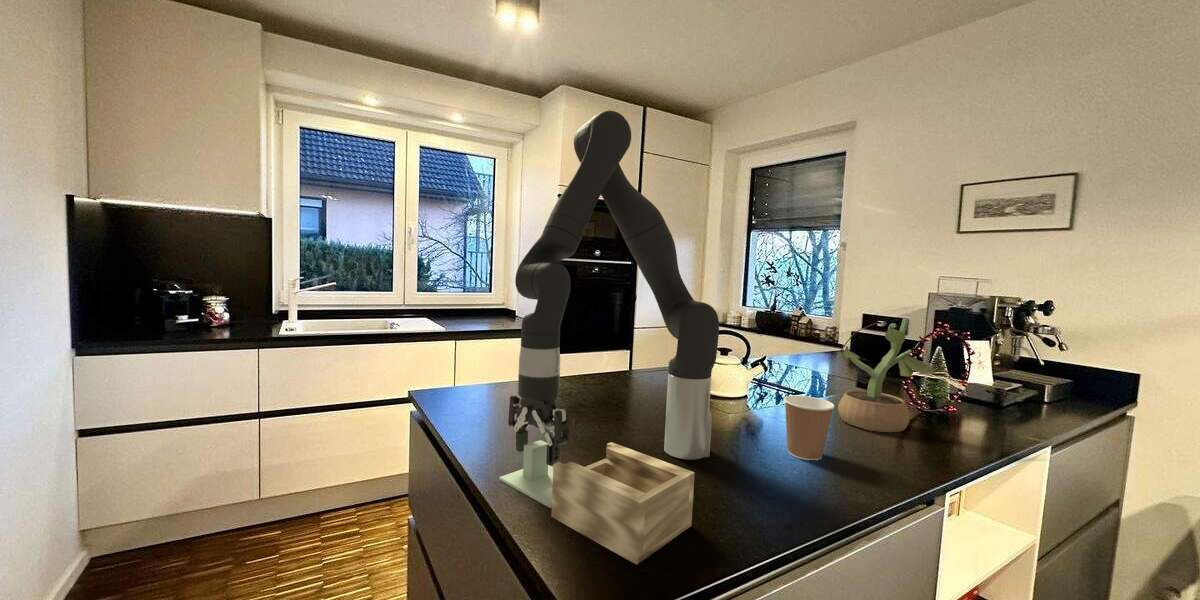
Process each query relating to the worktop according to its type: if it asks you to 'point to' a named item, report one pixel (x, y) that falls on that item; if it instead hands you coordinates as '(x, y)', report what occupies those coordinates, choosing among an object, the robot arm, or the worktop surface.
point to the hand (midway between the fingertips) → (536, 457)
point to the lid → (533, 474)
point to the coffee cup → (807, 426)
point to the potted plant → (872, 404)
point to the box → (624, 501)
